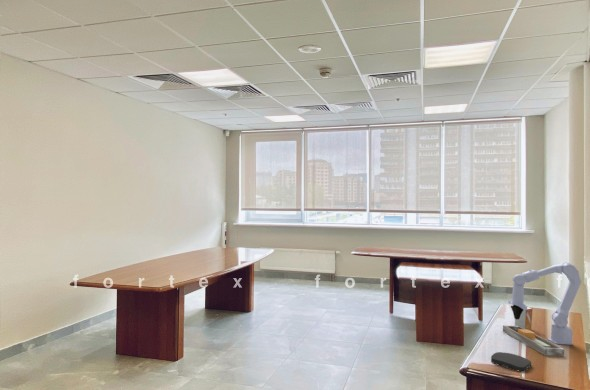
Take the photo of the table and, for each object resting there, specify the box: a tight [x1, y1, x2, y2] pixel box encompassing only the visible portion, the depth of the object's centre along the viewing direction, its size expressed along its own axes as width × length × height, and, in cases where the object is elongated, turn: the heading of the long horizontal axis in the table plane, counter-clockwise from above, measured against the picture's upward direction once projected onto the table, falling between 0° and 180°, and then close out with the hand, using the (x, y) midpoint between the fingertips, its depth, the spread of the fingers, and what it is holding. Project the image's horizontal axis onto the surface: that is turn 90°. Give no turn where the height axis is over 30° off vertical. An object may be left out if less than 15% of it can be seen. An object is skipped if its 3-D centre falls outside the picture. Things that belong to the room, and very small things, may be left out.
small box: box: [514, 306, 533, 331], centre depth 240 cm, size 8×6×13 cm
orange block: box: [518, 329, 536, 339], centre depth 218 cm, size 6×6×3 cm
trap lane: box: [502, 324, 565, 357], centre depth 214 cm, size 10×36×4 cm, turn 3°
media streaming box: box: [490, 351, 532, 372], centre depth 183 cm, size 15×15×3 cm
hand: (516, 318), depth 227 cm, fingers closed
